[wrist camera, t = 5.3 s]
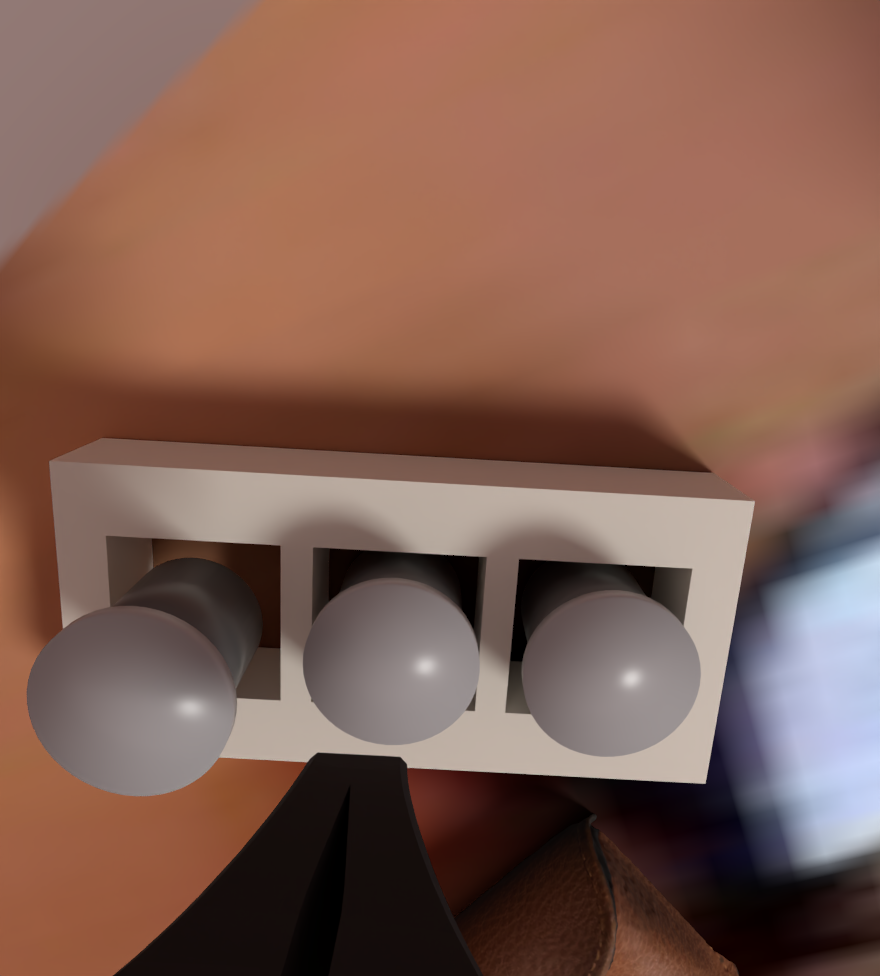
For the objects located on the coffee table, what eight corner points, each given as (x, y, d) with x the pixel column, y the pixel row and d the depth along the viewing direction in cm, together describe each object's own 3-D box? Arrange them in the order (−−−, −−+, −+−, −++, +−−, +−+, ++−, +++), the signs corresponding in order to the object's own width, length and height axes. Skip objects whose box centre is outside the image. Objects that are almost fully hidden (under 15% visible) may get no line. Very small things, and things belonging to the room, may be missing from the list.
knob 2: (661, 542, 18) (713, 603, 15) (643, 674, 19) (686, 760, 15) (514, 534, 18) (531, 592, 15) (503, 666, 19) (516, 751, 15)
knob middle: (478, 532, 18) (486, 590, 15) (468, 665, 19) (473, 749, 15) (330, 524, 18) (303, 580, 14) (328, 657, 19) (301, 740, 15)
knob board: (713, 472, 18) (755, 501, 16) (673, 723, 20) (705, 783, 18) (102, 437, 18) (48, 461, 16) (118, 693, 20) (73, 749, 17)
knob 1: (276, 549, 16) (229, 621, 13) (276, 696, 17) (232, 800, 14) (110, 540, 16) (17, 609, 13) (119, 688, 17) (35, 790, 13)
